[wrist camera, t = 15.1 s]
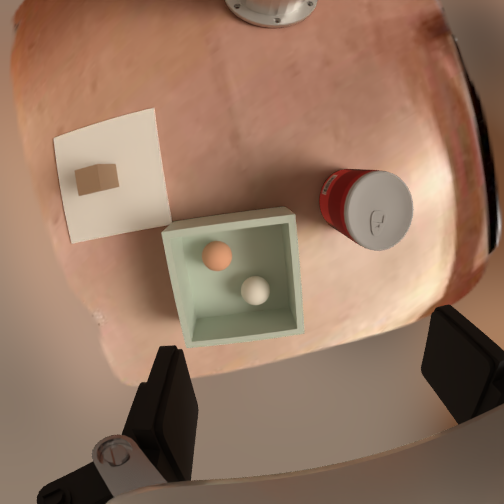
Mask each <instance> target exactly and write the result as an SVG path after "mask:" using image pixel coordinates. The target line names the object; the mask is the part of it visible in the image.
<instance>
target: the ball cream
mask: <svg viewBox="0 0 504 504" xmlns="http://www.w3.org/2000/svg"><path fill="white" fill-rule="evenodd" d="M241 295H242V297H243V299H244V300H245V301H246V302H247V303H249V304H251V305H260V304H262V303H264V302H265V301H266V300H267V299H268V297H269V295H270V286H269V284H268V282H267V281H266V280H265V279H264V278H262V277H259V276H252V277H249V278H247V279H246V280H245V281H244V282H243V284H242V286H241Z"/></svg>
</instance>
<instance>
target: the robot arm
mask: <svg viewBox="0 0 504 504" xmlns="http://www.w3.org/2000/svg"><path fill="white" fill-rule="evenodd" d="M225 2H226V5H227V6H228V7H229V9H230V10H231V11H232V12H233V13H234V14H235V15H236V16H237V17H239V18H241V19H242V20H244V21H246V22H248V23H251V24H253V25H257V26H261V27H268V28H282V27H288V26H292V25H295V24H297V23H299V22H301V21H303V20H305V19H306V18H307V17H308V16H309V15H310V14H311V13H312V12H313V10H314V8H315V7H316V4H317V0H225ZM308 5H309V6H308ZM236 8H239V9H236ZM276 22H278V23H276ZM421 371H422V374H423V376H424V378H425V379H426V380H427V382H428V383H429V384H430V386H431V387H432V388H433V389H434V391H435V392H436V394H437V395H438V396H439V398H440V399H441V401H442V402H443V403H444V405H445V406H446V407H447V409H448V410H449V412H450V413H451V415H452V416H453V417H454V419H455V420H456V422H457V423H458V425H457V426H455V427H452V428H450V429H447V430H445V431H442V432H440V433H437V434H434V435H432V436H429V437H426V438H424V439H421V440H418V441H415V442H413V443H409V444H406V445H404V446H400V447H397V448H394V449H391V450H387V451H384V452H381V453H377V454H374V455H370V456H366V457H362V458H359V459H354V460H350V461H346V462H342V463H337V464H332V465H327V466H322V467H317V468H312V469H306V470H300V471H294V472H286V473H279V474H271V475H262V476H253V477H242V478H229V479H211V480H194V481H191V473H192V464H193V454H194V445H195V436H196V428H197V419H198V404H197V400H196V397H195V393H194V390H193V386H192V383H191V379H190V375H189V372H188V368H187V364H186V361H185V357H184V353H183V350H182V349H177V347H176V346H175V345H174V346H160V347H159V350H158V352H157V355H156V358H155V361H154V364H153V366H152V369H151V372H150V375H149V378H148V381H147V382H142V383H140V385H139V387H138V390H137V393H136V396H135V398H134V401H133V404H132V406H131V410H130V412H129V415H128V418H127V421H126V424H125V427H124V429H123V432H122V435H111V436H108V437H105V438H104V439H102V440H100V441H99V442H98V443H97V444H96V445H95V447H94V449H93V451H92V459H93V462H91V463H89V464H87V465H85V466H84V467H81V468H79V469H78V470H76V471H74V472H72V473H70V474H68V475H66V476H63V477H62V478H59V479H57V480H55V481H53V482H51V483H49V484H47V485H46V486H44V487H43V488H42V489H41V490H40V491H39V494H38V496H37V504H504V351H503V350H502V349H501V348H500V347H499V346H498V345H497V344H496V343H494V342H493V341H492V340H491V339H490V338H489V337H488V336H486V335H485V334H484V333H483V332H482V331H481V330H479V329H478V328H477V327H476V326H475V325H474V324H472V323H471V322H470V321H469V320H468V319H466V318H465V317H464V316H463V315H462V314H461V313H459V312H458V311H457V310H456V309H454V308H453V307H452V306H451V305H444V306H440V307H437V308H436V309H435V310H434V312H433V313H432V315H431V320H430V326H429V332H428V337H427V342H426V347H425V352H424V356H423V361H422V365H421Z"/></svg>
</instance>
